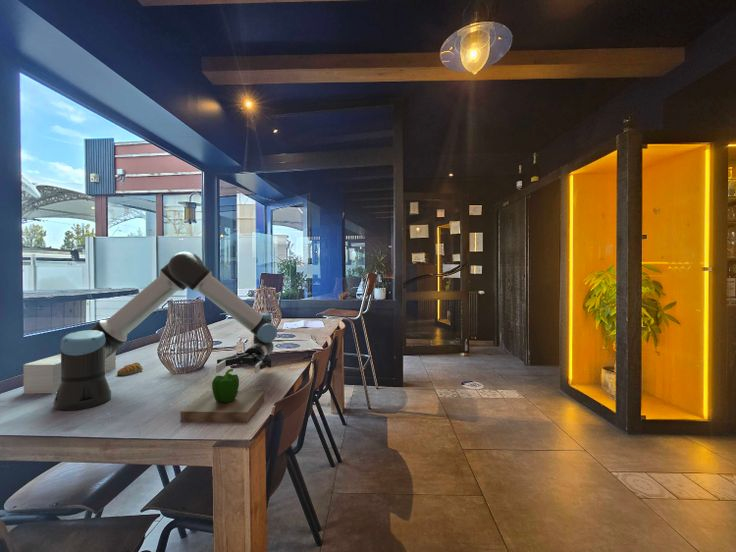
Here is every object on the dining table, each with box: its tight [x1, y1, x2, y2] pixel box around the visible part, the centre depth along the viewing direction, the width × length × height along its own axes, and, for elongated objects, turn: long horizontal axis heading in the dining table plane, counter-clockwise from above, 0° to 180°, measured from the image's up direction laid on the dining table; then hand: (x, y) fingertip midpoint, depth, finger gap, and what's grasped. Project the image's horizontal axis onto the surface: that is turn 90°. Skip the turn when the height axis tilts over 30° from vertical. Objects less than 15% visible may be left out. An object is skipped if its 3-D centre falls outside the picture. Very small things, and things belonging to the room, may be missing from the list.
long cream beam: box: [22, 349, 117, 395], centre depth 144 cm, size 32×11×11 cm, turn 0°
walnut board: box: [179, 390, 265, 423], centre depth 116 cm, size 20×18×3 cm
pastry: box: [116, 362, 144, 377], centre depth 154 cm, size 9×7×4 cm
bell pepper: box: [211, 368, 240, 403], centre depth 116 cm, size 8×8×10 cm
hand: (236, 369), depth 125 cm, fingers open, 13 cm apart
